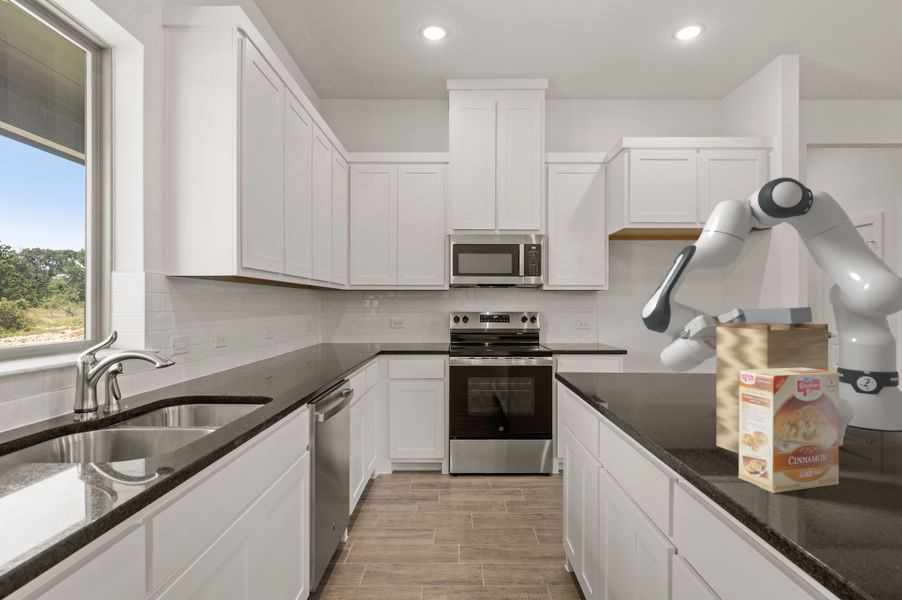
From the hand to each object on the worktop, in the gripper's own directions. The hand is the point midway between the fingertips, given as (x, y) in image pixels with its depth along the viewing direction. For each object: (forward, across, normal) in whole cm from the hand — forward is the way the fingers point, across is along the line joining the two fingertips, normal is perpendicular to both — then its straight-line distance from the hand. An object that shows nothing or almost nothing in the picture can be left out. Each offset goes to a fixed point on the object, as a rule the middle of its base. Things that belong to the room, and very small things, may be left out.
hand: (751, 311), depth 107 cm
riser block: (-8, -4, +30) cm, 31 cm away
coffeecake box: (+4, -17, +37) cm, 41 cm away
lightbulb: (-6, +12, +30) cm, 33 cm away
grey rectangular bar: (+4, -2, +5) cm, 7 cm away
